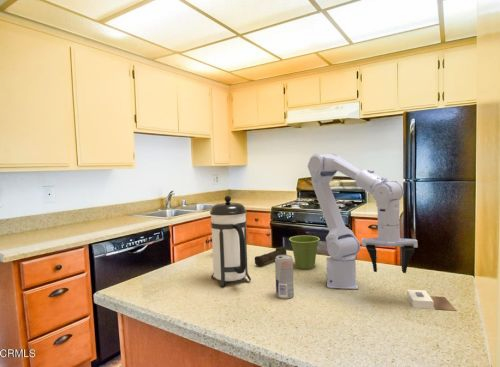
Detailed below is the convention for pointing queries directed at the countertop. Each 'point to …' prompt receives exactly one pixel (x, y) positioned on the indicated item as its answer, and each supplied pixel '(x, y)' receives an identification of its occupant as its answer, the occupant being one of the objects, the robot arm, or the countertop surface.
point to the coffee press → (229, 242)
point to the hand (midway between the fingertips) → (389, 271)
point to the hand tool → (270, 256)
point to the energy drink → (284, 276)
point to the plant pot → (304, 250)
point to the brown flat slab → (442, 303)
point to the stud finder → (420, 299)
